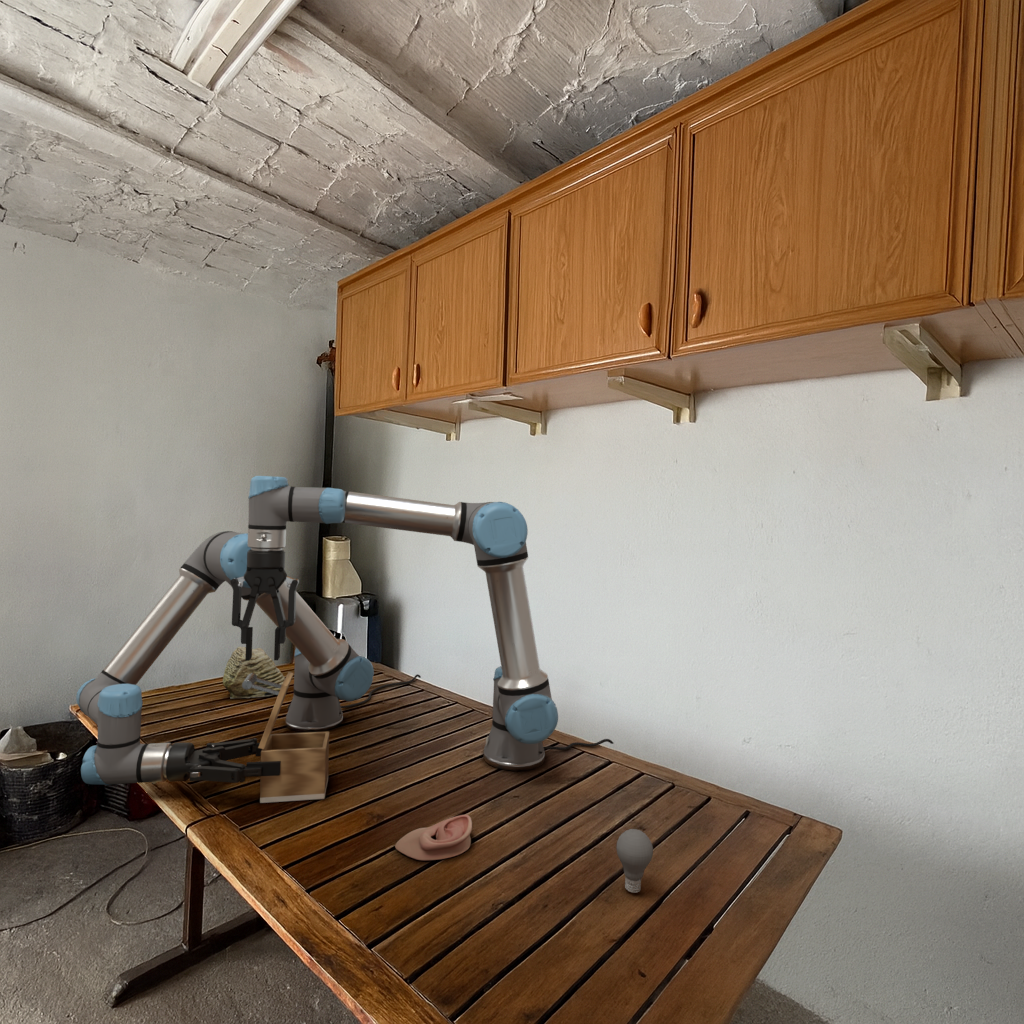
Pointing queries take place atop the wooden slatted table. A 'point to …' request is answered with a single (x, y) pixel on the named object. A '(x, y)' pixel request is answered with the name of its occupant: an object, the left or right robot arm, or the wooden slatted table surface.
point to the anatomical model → (438, 839)
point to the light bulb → (634, 857)
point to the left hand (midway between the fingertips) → (283, 757)
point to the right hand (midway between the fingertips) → (262, 658)
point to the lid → (281, 694)
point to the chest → (296, 767)
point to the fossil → (241, 669)
